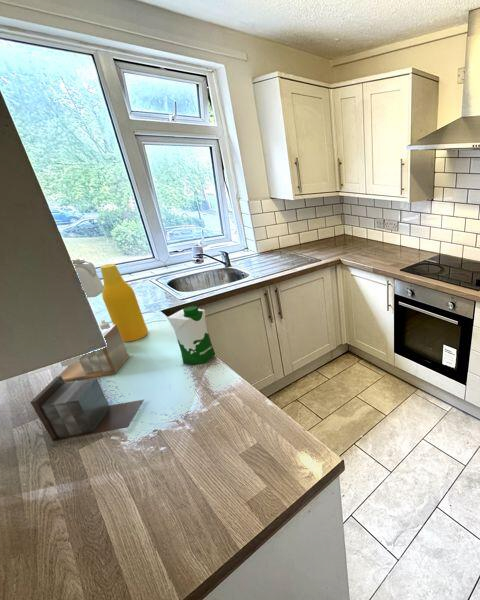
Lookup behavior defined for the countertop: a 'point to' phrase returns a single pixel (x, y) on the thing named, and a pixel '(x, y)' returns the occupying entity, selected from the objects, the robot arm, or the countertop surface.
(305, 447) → the countertop surface
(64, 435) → the grey book rack
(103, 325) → the eye dropper bottle
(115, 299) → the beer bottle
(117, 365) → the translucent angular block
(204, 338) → the milk carton
